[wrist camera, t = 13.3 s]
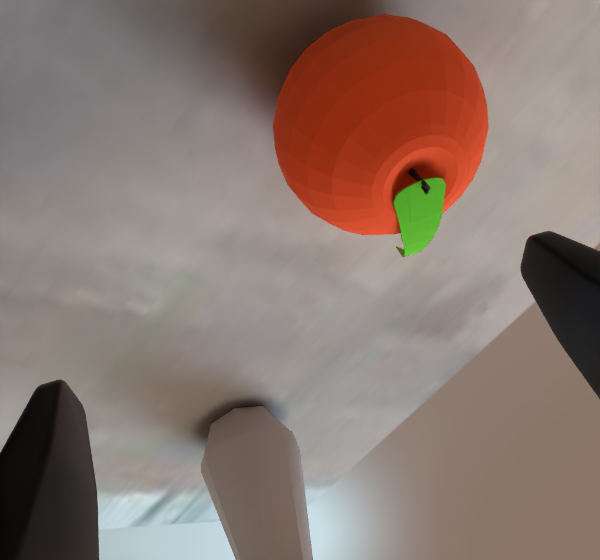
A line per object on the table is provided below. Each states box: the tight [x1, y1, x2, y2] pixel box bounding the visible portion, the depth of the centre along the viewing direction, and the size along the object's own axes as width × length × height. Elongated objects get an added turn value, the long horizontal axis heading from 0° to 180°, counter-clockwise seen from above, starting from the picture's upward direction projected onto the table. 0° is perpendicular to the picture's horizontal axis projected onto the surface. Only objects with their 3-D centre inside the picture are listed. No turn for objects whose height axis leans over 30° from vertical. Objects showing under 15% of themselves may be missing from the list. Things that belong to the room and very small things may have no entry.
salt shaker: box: [201, 406, 313, 560], centre depth 29 cm, size 6×6×13 cm
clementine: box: [273, 14, 488, 257], centre depth 18 cm, size 8×7×7 cm
